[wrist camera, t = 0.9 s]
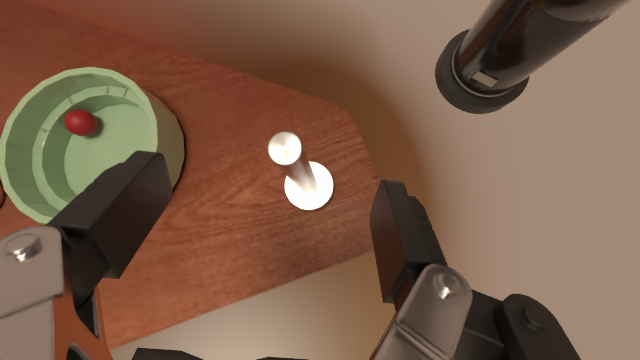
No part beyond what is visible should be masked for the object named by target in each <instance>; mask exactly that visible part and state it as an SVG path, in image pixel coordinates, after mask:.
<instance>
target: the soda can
mask: <svg viewBox="0 0 640 360" xmlns="http://www.w3.org/2000/svg"><path fill="white" fill-rule="evenodd" d="M3 199H4V189H3V186H2V185H1V184H0V206H1V204H2V202H3Z"/></svg>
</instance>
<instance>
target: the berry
mask: <svg viewBox="0 0 640 360" xmlns="http://www.w3.org/2000/svg"><path fill="white" fill-rule="evenodd" d="M64 124H65V126H66V128H67V129H68V130H69V131H70V132H71V133H73V134H75V135H77V136H90V135H92V134H94V133H95V132H96V131H97V129H98V126H99V123H98V120H97V118H96V117H95V116H94V115H93V114H91V113H90V112H87V111H84V110H74V111H71V112H70V113H68V114H67V115H66V117H65V119H64Z"/></svg>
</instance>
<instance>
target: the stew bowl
mask: <svg viewBox="0 0 640 360" xmlns="http://www.w3.org/2000/svg"><path fill="white" fill-rule="evenodd" d="M74 110H84V111H87V112H90V113H91V114H93V115H94V116H95V117H96V118H97V120H98V123H99V126H98V129H97V131H96V132H95V133H94V134H92V135H90V136H77V135H75V134H73V133H71V132H70V131H69V130H68V129H67V128H66V126H65V124H64V119H65V117H66V115H67V114H68V113H70V112H71V111H74ZM137 150H141V151H149V152H158V153H162V154H163V155H164V157H165V161H166V164H167V168H168V172H169V176H170V180H171V184H172V189H173V187H174V185H175V184H176V182H177V180H178V179H179V176H180V172H181V168H182V164H183V161H184V138H183V133H182V131H181V128H180V126H179V123H178V121H177V118H176V116H175V115H174V114H173V113H172V112H171V111H170V109H169V108H168V107H167V106H166V105H165V104H164V103H163V102H162V101H161V100H159V99H158V98H156V97H155V96H154V95H152V94H151V93H149V92H148V91H147V90H145V89H144V88H142V87H141V86H140V85H138V84H137V83H135V82H134V81H132V80H130V79H129V78H127V77H125V76H123V75H121V74H119V73H117V72H115V71H113V70H108V69H102V68H95V67H85V68H78V69H72V70H66V71H63V72H61V73H59V74H57V75H55V76H52V77H50V78H48V79H46V80H44V81H42V82H41V83H40V84H38V85H37V86H36V87H35V88H33V89H32V90H31V91H30V92H29V93H27V94H26V95H25V96H24V97H23V98H22V99H21V101H20V102H19V104H18V105H17V106H16V108H15V109H14V111H13V112H12V113H11V115H10V116H9V118H8V119H7V122H6V125H5V127H4V130H3V133H2V136H1V138H0V177H1V180H2V184H3V188H4V190H5V192H6V193H7V195H8V196H9V198H10V199H11V200H12V202H13V203H14V204H15V206H16V207H17V208H18V210H20V211H21V212H23V213H24V214H26V215H27V216H29V217H31V218H32V219H34V220H35V221H37V222H39V223H43V224H47V223H48V222H49V221H50V220H52V219H53V218H54V217H55V216H56V215H57V214H58V213H59V212H60V211H61V210H62V209H63V208H64V207H66V206H67V205H68V204H69V203H70V202H71V201H72V200H73V199H74V198H75V197H76V196H77V195H78V194H80V193H81V192H84V189H85V188H86V187H87V186H88V185H89V184H90V183H93V181H94V180H95V179H96V178H97V177H98V176H99V175H100V174H101V173H102V172H103V171H104V170H106V169H108V168H110V167H112V166H114V165H116V164H118V163H120V162H121V163H124V162H125V161H126V160H127V159H128V158H129V157H130V156H131V155H132V154H133V153H134V152H135V151H137Z"/></svg>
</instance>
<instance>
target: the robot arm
mask: <svg viewBox="0 0 640 360" xmlns="http://www.w3.org/2000/svg"><path fill="white" fill-rule="evenodd" d="M629 1H631V0H491V1H490V3H489V4H488V6H487V7H486V8H485V10H484V11H483V13H482V14H481V16H480V17H479V18H478V20H477V21H476V22H475V24H474V25H473V27H472V28H471V29H470V31H469V32H468V33H467V35H466V36H465V38H464V39H463V40H462V41H461V42H460V43H459V45H458V46H457V47H456V49H455V50H454V52H453V54H452V57H451V63H450V66H451V73H452V76H453V78H454V80H455V81H456V83H457V84H458V85H459V86H460V87H461V88H462V89H463V90H464V91H465V92H467V93H469V94H471V95H473V96H476V97H479V98H496V97H500V96H502V95H505V94H506V93H508V92H509V91H511V90H512V89H513V88H514V87H516V85H518V84H519V83H520V82H522V81H523V80H524V79H526V78H527V77H529V76H530V75H531V74H533V73H534V72H535V71H537V69H539V68H541V67H542V66H543V65H545V64H546V63H547V62H549V61H550V60H551V59H552V58H554V57H555V56H557V55H558V54H560V53H561V52H562V51H563V50H565V49H566V48H568V47H569V46H570V45H572V44H573V43H574V42H576V41H577V40H578V39H580V38H581V37H582V36H584V35H585V34H586V33H588V32H589V31H590V30H592V29H593V28H595V27H596V26H597V25H599V24H600V23H601V22H603V21H604V20H605V19H607V18H608V17H609V16H611V15H612V14H613V13H615V12H616V11H617V10H618V9H620V8H621V7H623V6H624V5H625V4H627V3H628V2H629ZM171 196H172V184H171V180H170V176H169V172H168V168H167V164H166V161H165V157H164V155H163V154H162V153H158V152H149V151H141V150H137V151H135V152H134V153H133V154H132V155H131V156H130V157H129V158H128V159H127V160H126V161H125V162H124V163H121V162H120V163H118V164H116V165H114V166H112V167H110V168H108V169H106V170H104V171H103V172H102V173H101V174H100V175H99V176H98V177H97V178H96V179H95V180H94V181H93V183H90V184H89V185H88V186H87V187H86V188H85V189H84V192H81V193H80V194H78V195H77V196H76V197H75V198H74V199H73V200H72V201H71V202H70V203H69V204H68V205H67V206H66V207H64V208H63V209H62V210H61V211H60V212H59V213H58V214H57V215H56V216H55V217H54V218H53V219H52V220H50V221H49V222H48V223H47V224H46V225H45V226H33V227H28V228H24V229H21V230H18V231H16V232H13V233H11V234H9V235H7V236H5V237H3V238H2V239H0V360H113V359H112V356H111V355H110V352H109V349H108V346H107V343H106V337H105V330H104V323H103V316H102V309H101V302H100V295H99V290H98V288H97V284H98V283H99V282H100V280H101V279H102V277H104V278H115V279H119V278H120V276H121V275H122V273H123V272H124V270H125V269H126V267H127V266H128V264H129V263H130V261H131V260H132V258H133V257H134V255H135V253H136V252H137V250H138V249H139V247H140V246H141V244H142V243H143V241H144V240H145V238H146V237H147V235H148V234H149V232H150V231H151V229H152V228H153V226H154V225H155V223H156V222H157V220H158V219H159V217H160V216H161V214H162V213H163V211H164V209H165V208H166V206H167V205H168V203H169V202H170V200H171ZM370 228H371V233H372V239H373V245H374V251H375V257H376V263H377V269H378V275H379V280H380V286H381V292H382V298H383V303H393V304H394V305H395V310H396V314H395V315H394V317H393V319H392V320H391V322H390V324H389V326H388V327H387V329H386V331H385V333H384V334H383V336H382V338H381V339H380V341H379V343H378V345H377V346H376V348H375V350H374V352H373V353H372V355H371V357H370V359H369V360H581V359H580V357H579V356H578V354H577V352H576V351H575V349H574V347H573V346H572V344H571V342H570V341H569V339H568V337H567V336H566V334H565V332H564V331H563V329H562V327H561V326H560V324H559V322H558V321H557V319H556V318H555V317H554V316H553V314H552V313H551V312H550V311H549V310H548V309H547V308H546V307H544V306H543V305H542V304H541V303H539V302H538V301H536V300H534V299H533V298H530V297H528V296H525V295H522V294H511V295H509V296H508V297H507V298H506V299H504V300H503V301H500V300H498V299H495V298H492V297H490V296H487V295H485V294H482V293H480V292H477V291H475V290H472V289H471V288H470V286H469V284H468V282H467V281H466V280H465V279H464V278H463V276H462V275H461V274H459V273H458V272H457V271H455V270H454V269H452V268H450V267H448V265H447V263H446V260H445V257H444V255H443V252H442V250H441V248H440V245H439V243H438V240H437V238H436V235H435V233H434V230H432V225H431V223H430V221H429V220H428V216H427V213H426V211H425V208H424V207H423V205H422V204H421V203H420V202H419V201H418V200H417V199H416V198H415V197H413V196H408V194H407V191H406V188H405V186H404V183H403V182H399V181H391V180H382V181H381V182H380V184H379V187H378V190H377V193H376V196H375V199H374V202H373V205H372V208H371V211H370ZM132 360H203V359H201V358H198V357H196V356H193V355H190V354H188V353H186V352H183V351H177V350H162V349H148V348H137V350H136V352H135V354H134V356H133V358H132ZM257 360H306V359H292V358H278V357H277V358H276V357H266V358H262V359H257Z"/></svg>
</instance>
